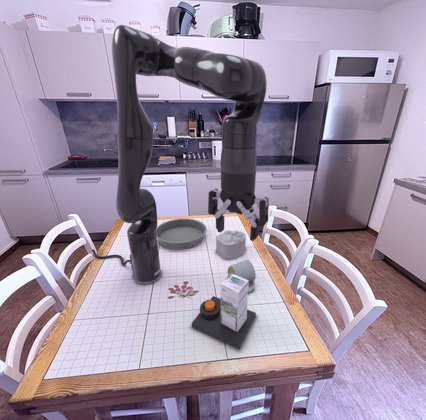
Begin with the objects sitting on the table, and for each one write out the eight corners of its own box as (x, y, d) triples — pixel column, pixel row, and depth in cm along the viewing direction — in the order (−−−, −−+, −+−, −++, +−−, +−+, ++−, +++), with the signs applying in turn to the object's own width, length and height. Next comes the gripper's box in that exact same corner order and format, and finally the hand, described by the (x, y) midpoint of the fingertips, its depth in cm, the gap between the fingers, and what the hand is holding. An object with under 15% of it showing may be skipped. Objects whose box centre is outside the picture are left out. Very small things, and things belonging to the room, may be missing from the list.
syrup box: (247, 318, 68) (249, 279, 63) (236, 333, 64) (238, 292, 58) (230, 310, 71) (231, 271, 66) (219, 324, 67) (219, 283, 61)
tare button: (203, 309, 70) (202, 305, 69) (208, 302, 72) (208, 298, 71) (211, 313, 68) (211, 309, 68) (216, 306, 71) (216, 302, 70)
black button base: (190, 326, 68) (189, 317, 66) (212, 299, 78) (211, 291, 76) (239, 350, 61) (239, 340, 60) (255, 316, 71) (256, 308, 70)
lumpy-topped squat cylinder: (213, 250, 104) (213, 233, 101) (236, 241, 112) (236, 225, 108) (227, 261, 97) (227, 243, 94) (250, 251, 104) (251, 234, 101)
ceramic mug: (226, 278, 87) (226, 261, 84) (245, 272, 91) (246, 255, 88) (239, 297, 79) (240, 279, 76) (260, 289, 82) (262, 272, 79)
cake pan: (183, 257, 99) (182, 248, 97) (144, 241, 111) (142, 232, 109) (216, 234, 118) (216, 226, 116) (180, 222, 130) (179, 214, 128)
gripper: (276, 168, 50) (269, 235, 57) (218, 161, 56) (218, 222, 62) (264, 176, 44) (258, 250, 50) (200, 167, 50) (202, 234, 56)
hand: (236, 235), depth 56 cm, fingers open, 8 cm apart
